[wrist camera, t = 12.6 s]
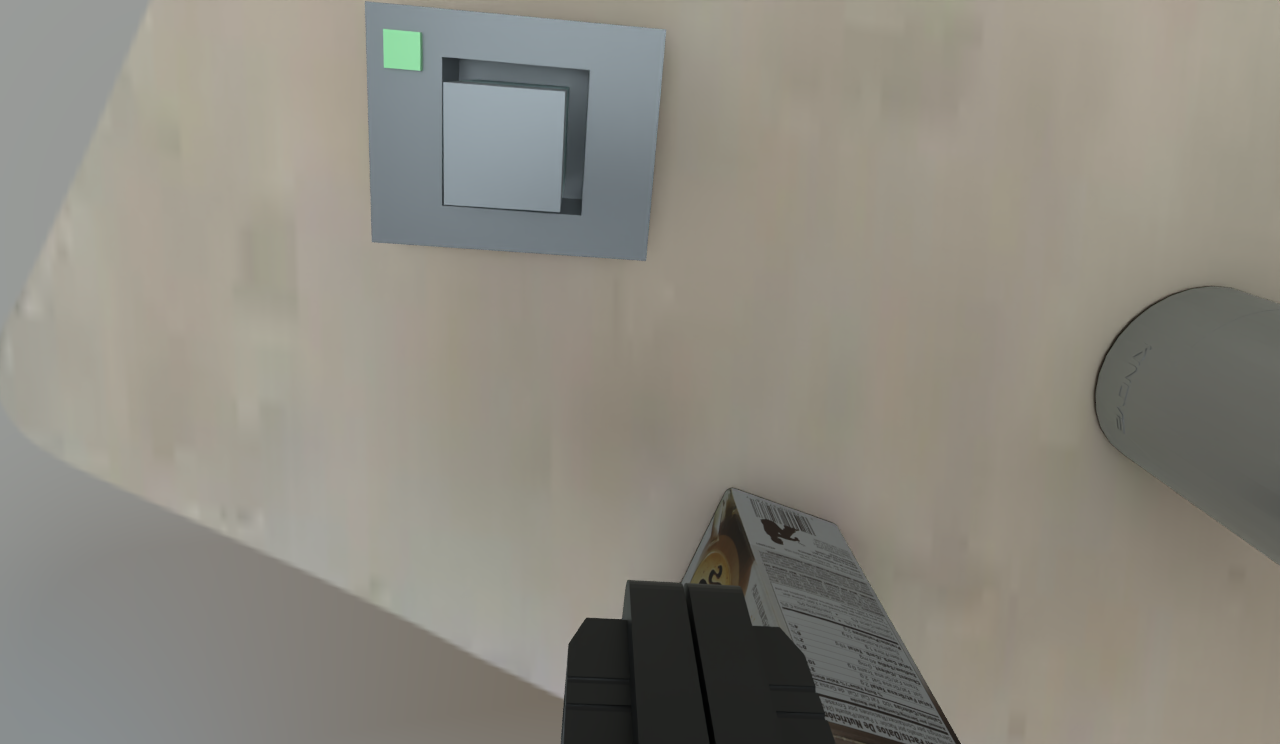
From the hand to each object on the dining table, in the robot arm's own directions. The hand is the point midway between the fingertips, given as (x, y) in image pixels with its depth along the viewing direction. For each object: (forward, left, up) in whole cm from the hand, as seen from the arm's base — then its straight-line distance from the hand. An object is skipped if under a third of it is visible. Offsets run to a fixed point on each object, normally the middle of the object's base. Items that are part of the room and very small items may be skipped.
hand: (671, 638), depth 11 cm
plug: (+4, -5, -25) cm, 26 cm away
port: (+4, -5, -26) cm, 27 cm away
